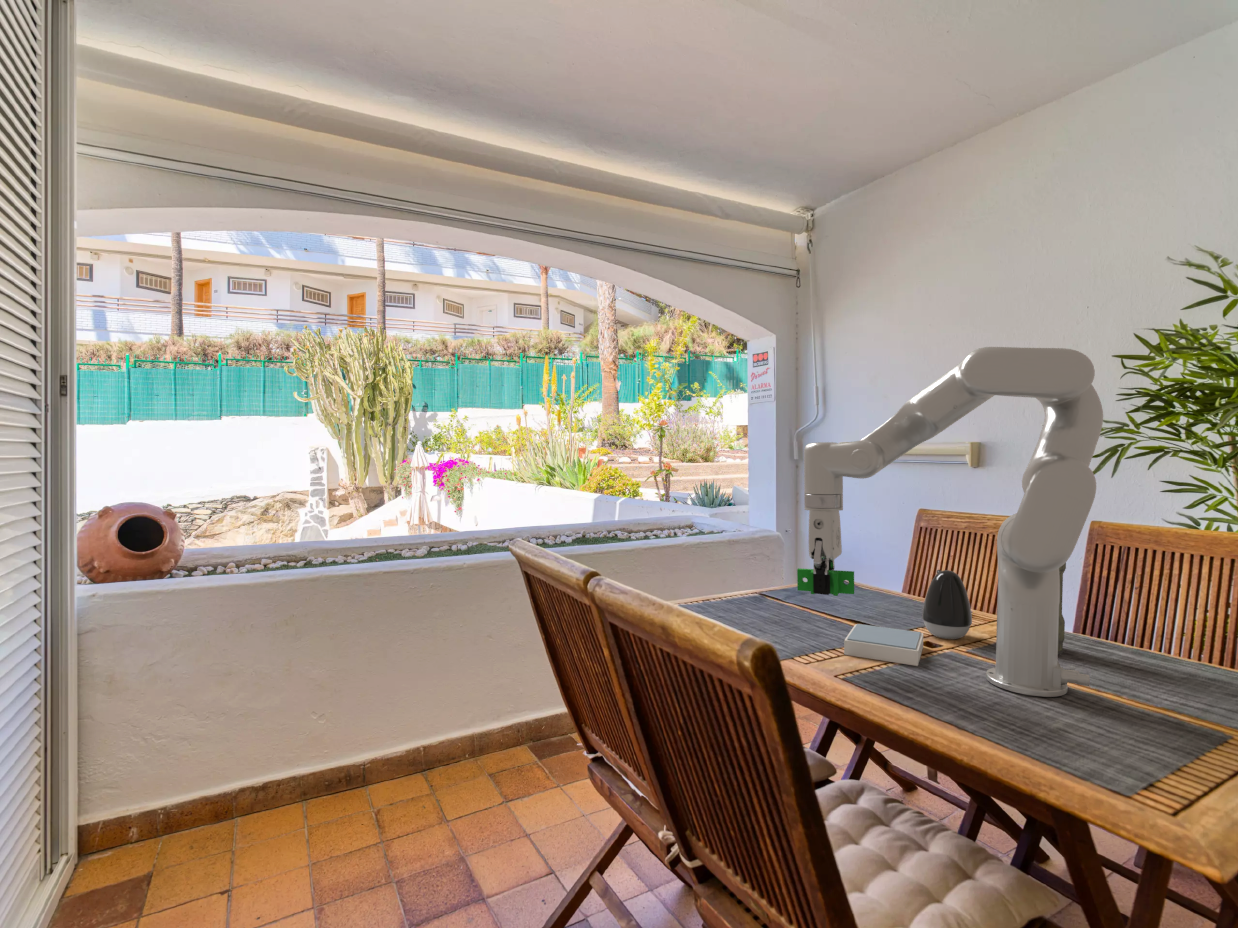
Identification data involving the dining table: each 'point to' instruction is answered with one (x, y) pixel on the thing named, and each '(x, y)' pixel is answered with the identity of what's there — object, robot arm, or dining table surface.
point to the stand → (884, 644)
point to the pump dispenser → (947, 606)
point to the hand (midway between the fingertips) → (824, 590)
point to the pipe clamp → (835, 581)
